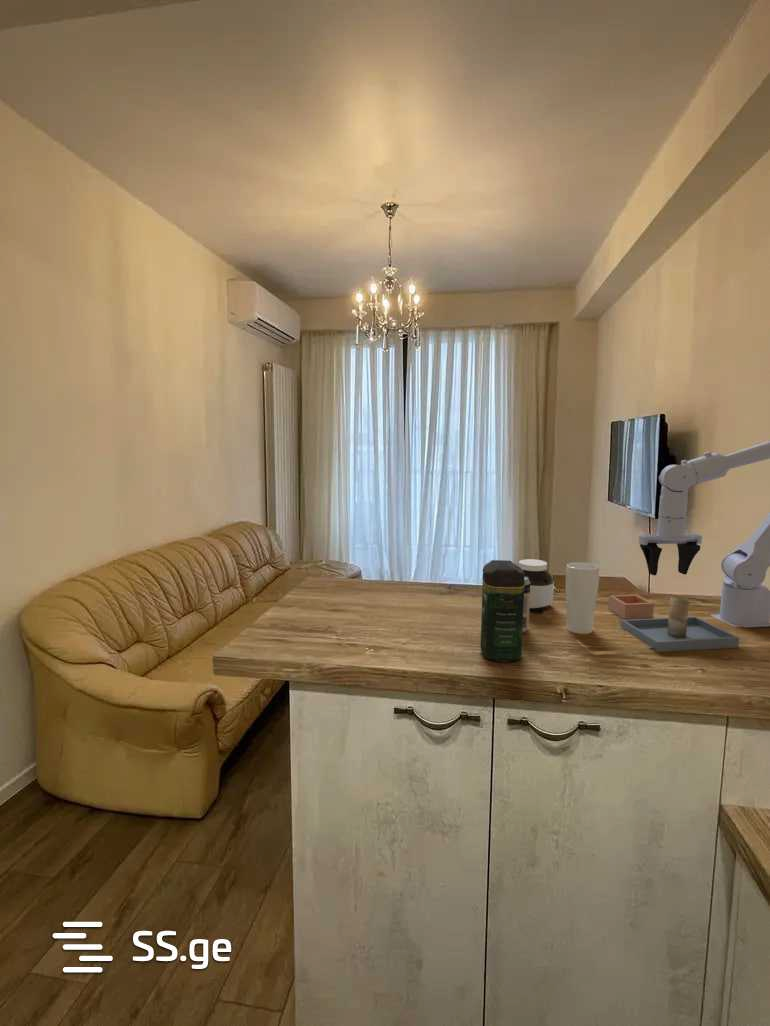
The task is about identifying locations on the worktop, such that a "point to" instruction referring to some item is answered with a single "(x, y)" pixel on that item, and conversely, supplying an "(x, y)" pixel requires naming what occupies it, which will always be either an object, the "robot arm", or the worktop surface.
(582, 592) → the drinking glass
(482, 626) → the coffee jar
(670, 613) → the ash peg
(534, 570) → the spread jar
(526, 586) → the beer can
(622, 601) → the salmon open box
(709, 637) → the slate tray
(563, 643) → the worktop surface
